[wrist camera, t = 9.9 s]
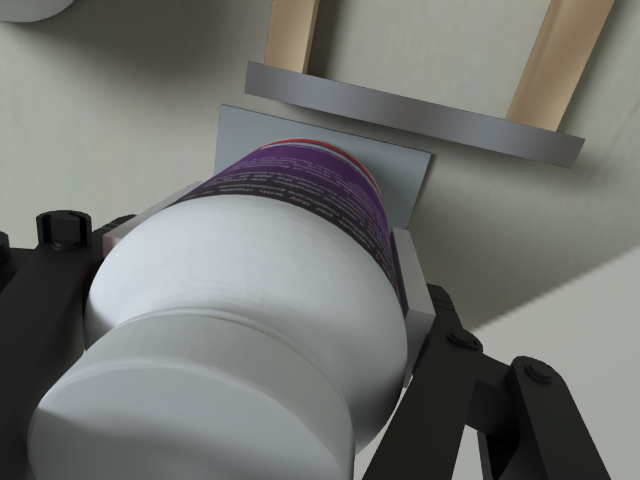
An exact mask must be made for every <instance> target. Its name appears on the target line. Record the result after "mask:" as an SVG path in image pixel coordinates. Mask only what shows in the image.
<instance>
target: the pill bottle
mask: <svg viewBox="0 0 640 480" xmlns="http://www.w3.org/2000/svg"><path fill="white" fill-rule="evenodd" d="M84 341H85V350H86V352H85V353H84V354H83V356H82V357H81V358H80V359H79V360H78V361H77V362H76V363H75V364H74V365H73V366H72V367H71V368H70V369H69V370H68V371H67V372H66V373H65V374H64V375H63V376H62V377H61V378H60V379H59V380H58V381H57V382H56V383H55V384H54V385H53V386H52V388H51V389H50V390H49V391H48V392H47V393H46V394H45V396H44V397H43V398H42V400H41V401H40V403H39V405H38V406H37V408H36V410H35V411H34V413H33V416H32V419H31V422H30V425H29V428H28V436H27V448H28V459H29V462H30V465H31V468H32V471H33V474H34V476H35V479H36V480H353V477H354V459H355V455H357V454H358V453H359V452H360V451H361V450H363V449H364V447H366V446H367V445H368V444H369V443H370V442H371V441H372V440H373V439H374V438H375V437H376V435H377V434H378V433H379V432H380V431H381V429H382V428H383V427H384V426H385V425H386V423H387V421H388V420H389V418H390V416H391V415H392V413H393V411H394V409H395V407H396V405H397V402H398V400H399V398H400V394H401V391H402V388H403V384H404V380H405V376H406V369H407V336H406V330H405V322H404V317H403V311H402V306H401V300H400V295H399V290H398V284H397V279H396V273H395V267H394V261H393V256H392V250H391V244H390V237H389V231H388V224H387V218H386V211H385V207H384V203H383V199H382V196H381V193H380V190H379V188H378V186H377V184H376V182H375V180H374V178H373V177H372V175H371V174H370V172H369V171H368V170H367V169H366V167H365V166H364V165H363V164H362V163H361V162H360V161H359V160H358V159H357V158H355V157H354V156H353V155H352V154H350V153H349V152H347V151H346V150H344V149H343V148H341V147H339V146H337V145H334V144H332V143H329V142H327V141H323V140H319V139H315V138H305V137H295V138H287V139H281V140H277V141H274V142H271V143H268V144H266V145H264V146H262V147H260V148H258V149H256V150H254V151H253V152H251V153H250V154H248V155H247V156H245V157H244V158H242V159H241V160H239V161H237V162H236V163H234V164H233V165H231V166H229V167H228V168H226V169H225V170H223V171H222V172H220V173H219V174H217V175H215V176H214V177H212V178H211V179H209V180H208V181H206V182H204V183H203V184H201V185H200V186H198V187H197V188H195V189H194V190H192V191H190V192H189V193H187V194H186V195H184V196H183V197H181V198H179V199H178V200H176V201H175V202H173V203H172V204H170V205H168V206H166V207H165V208H163V209H162V210H160V211H159V212H157V213H156V214H154V215H152V216H151V217H149V218H148V219H146V220H145V221H144V222H143V223H141V224H140V225H138V226H137V227H136V228H134V229H133V230H132V231H130V232H129V233H128V234H127V235H126V236H125V237H124V238H123V239H122V240H121V241H120V242H119V243H118V244H117V245H116V246H115V247H114V248H113V249H112V250H111V252H110V253H109V254H108V256H107V257H106V259H105V260H104V262H103V263H102V265H101V266H100V268H99V270H98V272H97V274H96V276H95V278H94V280H93V283H92V286H91V288H90V291H89V295H88V299H87V302H86V308H85V314H84Z"/></svg>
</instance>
